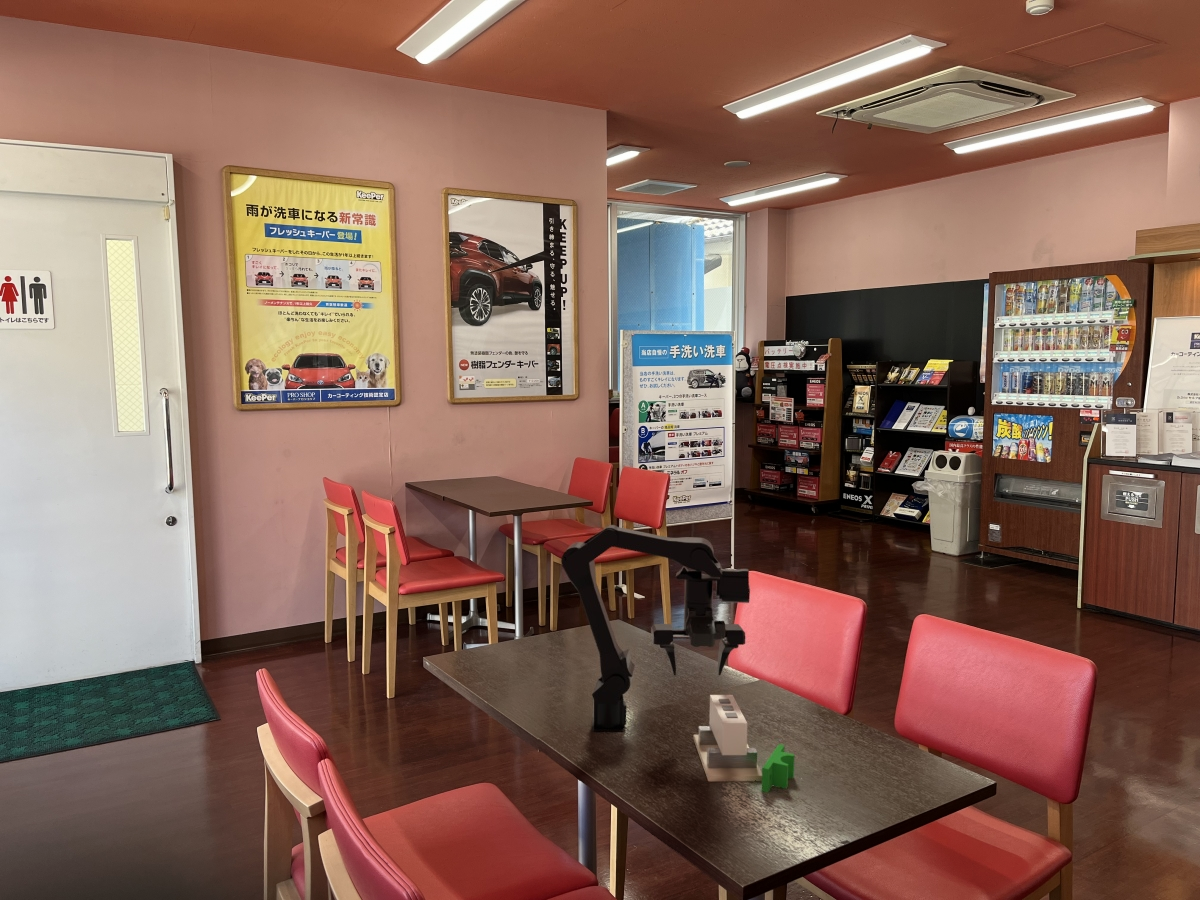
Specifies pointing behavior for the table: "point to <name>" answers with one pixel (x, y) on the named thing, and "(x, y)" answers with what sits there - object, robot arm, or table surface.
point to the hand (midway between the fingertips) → (696, 674)
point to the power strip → (728, 725)
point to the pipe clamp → (778, 769)
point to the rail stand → (725, 760)
